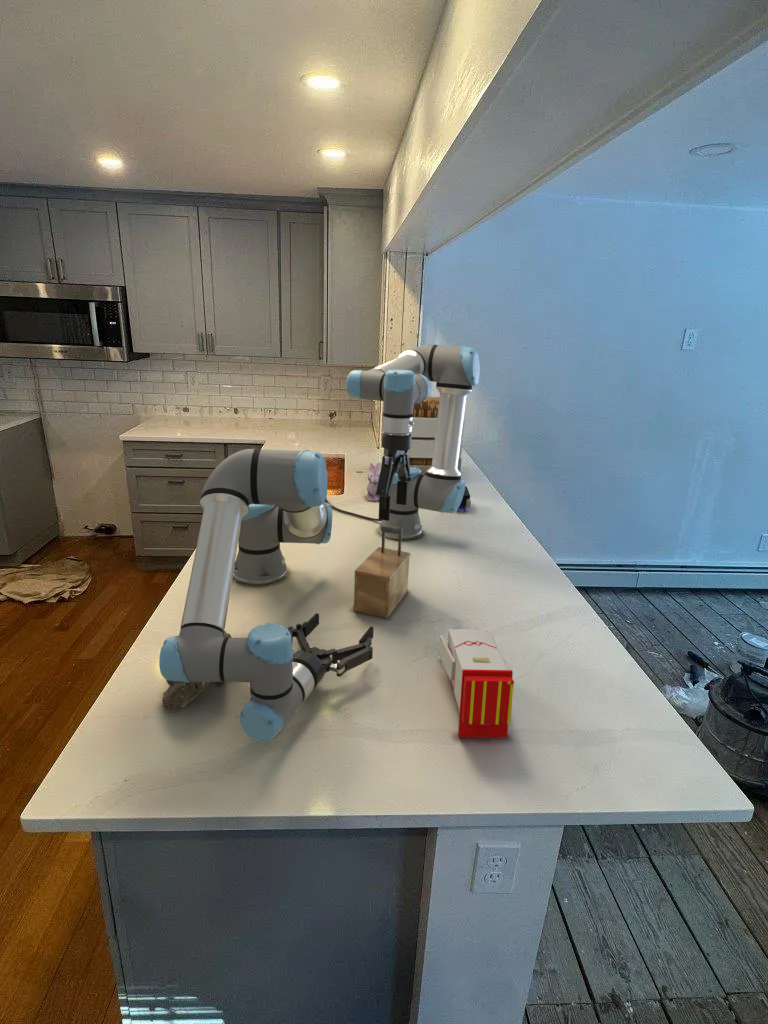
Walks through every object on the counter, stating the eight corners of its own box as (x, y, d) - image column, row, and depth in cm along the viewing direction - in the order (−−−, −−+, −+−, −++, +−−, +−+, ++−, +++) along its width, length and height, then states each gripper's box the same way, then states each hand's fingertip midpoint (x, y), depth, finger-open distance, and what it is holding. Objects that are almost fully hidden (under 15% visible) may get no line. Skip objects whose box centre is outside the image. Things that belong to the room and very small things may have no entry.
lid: (378, 549, 160) (379, 519, 157) (410, 555, 157) (412, 525, 154) (354, 573, 145) (355, 541, 142) (389, 580, 142) (391, 547, 139)
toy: (488, 613, 130) (523, 677, 101) (484, 667, 133) (517, 744, 104) (435, 612, 130) (455, 676, 101) (432, 666, 133) (451, 743, 103)
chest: (376, 584, 162) (377, 550, 159) (407, 591, 159) (409, 557, 156) (353, 610, 148) (354, 573, 145) (387, 618, 145) (389, 581, 142)
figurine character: (470, 516, 223) (465, 500, 237) (473, 499, 220) (467, 484, 233) (453, 516, 223) (449, 500, 236) (455, 498, 220) (451, 483, 233)
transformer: (382, 463, 289) (386, 382, 275) (445, 464, 293) (451, 384, 279) (390, 482, 257) (394, 392, 243) (460, 483, 261) (468, 394, 247)
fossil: (186, 631, 128) (233, 600, 123) (216, 659, 131) (263, 630, 126) (139, 703, 108) (193, 670, 103) (175, 734, 111) (229, 704, 106)
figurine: (371, 503, 230) (372, 467, 224) (360, 495, 238) (361, 460, 233) (391, 500, 234) (393, 465, 229) (380, 493, 242) (381, 459, 237)
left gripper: (245, 677, 116) (296, 627, 135) (356, 710, 108) (394, 652, 127) (243, 645, 113) (295, 599, 132) (357, 677, 105) (396, 622, 124)
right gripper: (394, 444, 131) (390, 529, 139) (425, 426, 154) (420, 500, 161) (364, 440, 134) (361, 524, 141) (399, 423, 156) (395, 496, 163)
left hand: (344, 625), depth 129 cm, fingers open, 13 cm apart
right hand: (392, 511), depth 151 cm, fingers open, 13 cm apart
